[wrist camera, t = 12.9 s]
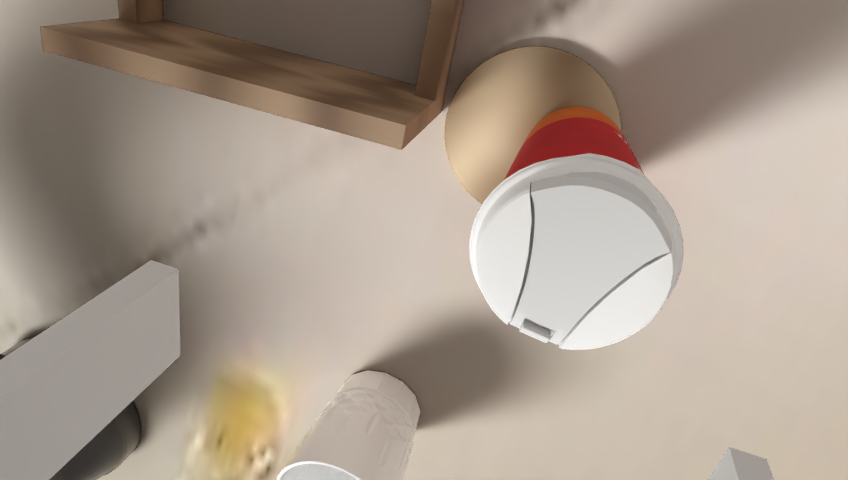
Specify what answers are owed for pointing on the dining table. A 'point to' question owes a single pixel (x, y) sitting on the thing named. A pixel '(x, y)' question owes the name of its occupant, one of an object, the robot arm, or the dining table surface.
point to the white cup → (359, 433)
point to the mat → (514, 109)
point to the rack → (268, 71)
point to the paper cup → (576, 236)
